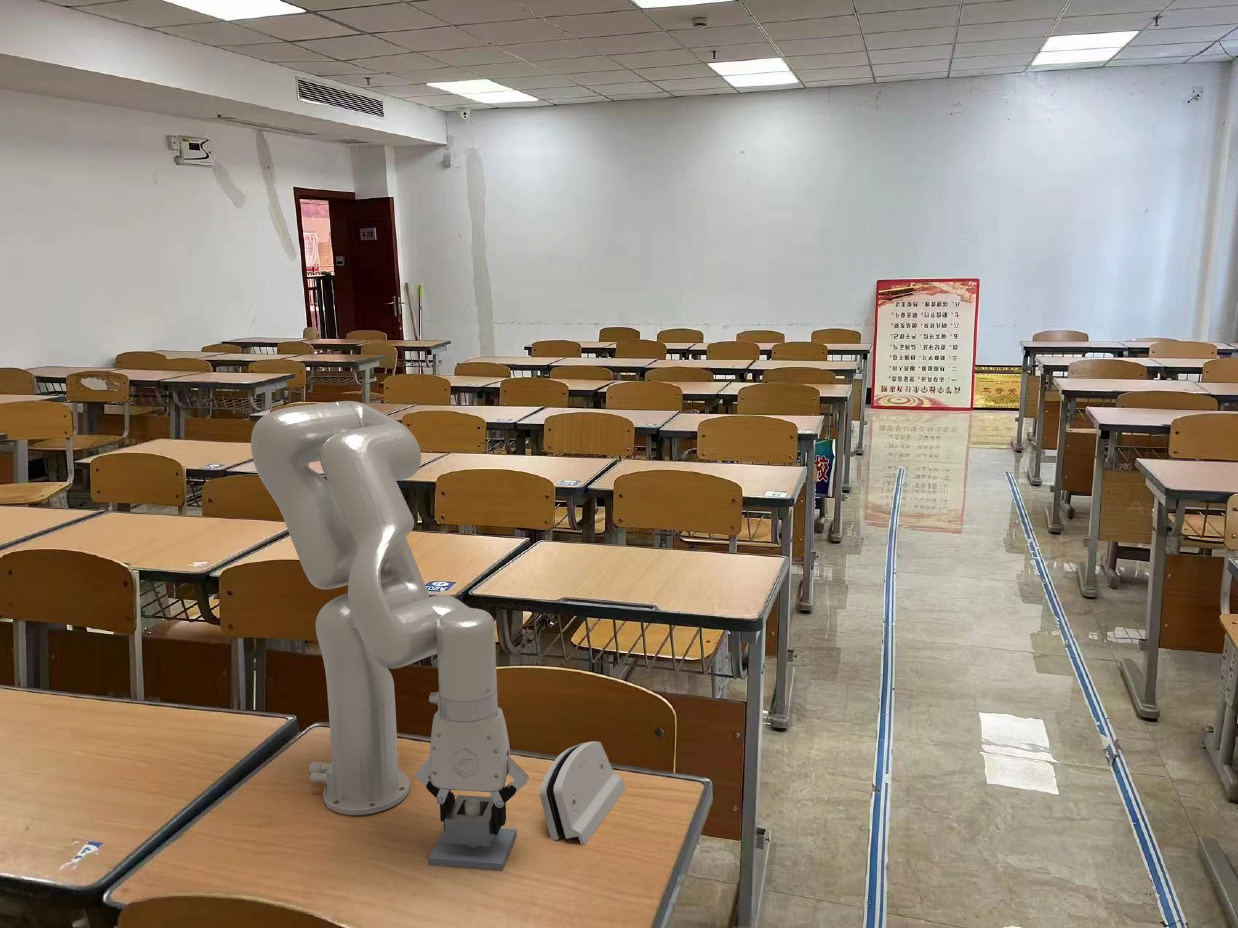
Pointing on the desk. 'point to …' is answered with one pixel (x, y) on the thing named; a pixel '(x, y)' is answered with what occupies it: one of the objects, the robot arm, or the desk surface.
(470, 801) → the keeper
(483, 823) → the grey square hollow block
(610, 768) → the grey slotted holder
